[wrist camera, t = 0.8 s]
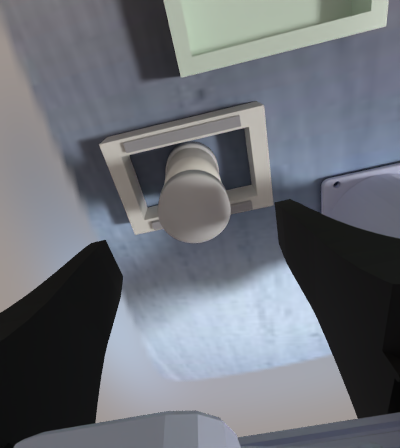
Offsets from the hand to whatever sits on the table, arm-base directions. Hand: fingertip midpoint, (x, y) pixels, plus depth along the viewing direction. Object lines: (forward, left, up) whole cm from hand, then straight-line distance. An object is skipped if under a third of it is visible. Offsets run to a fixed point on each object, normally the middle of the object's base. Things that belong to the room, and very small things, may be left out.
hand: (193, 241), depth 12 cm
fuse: (0, 0, -9) cm, 9 cm away
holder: (0, 0, -9) cm, 9 cm away
